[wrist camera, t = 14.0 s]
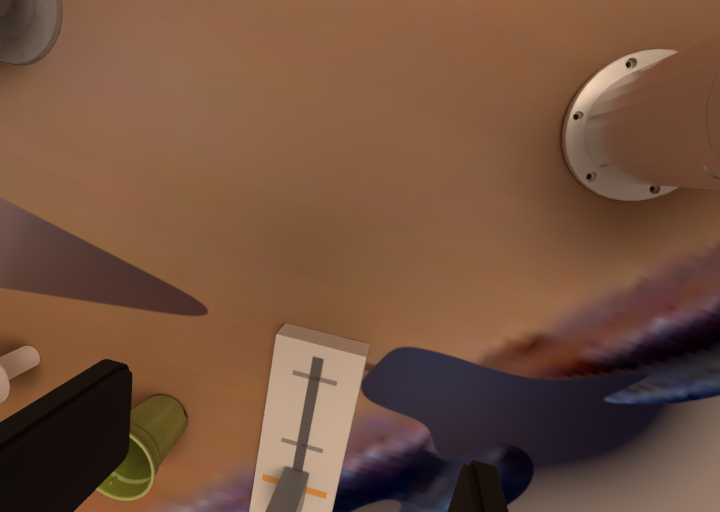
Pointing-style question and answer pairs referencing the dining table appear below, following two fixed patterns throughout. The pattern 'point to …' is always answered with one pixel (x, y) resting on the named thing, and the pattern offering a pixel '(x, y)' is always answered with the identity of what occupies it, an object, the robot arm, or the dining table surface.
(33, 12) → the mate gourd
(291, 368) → the console
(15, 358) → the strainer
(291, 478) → the fader
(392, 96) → the dining table surface
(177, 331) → the dining table surface
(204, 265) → the dining table surface
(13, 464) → the robot arm
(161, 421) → the plant pot
